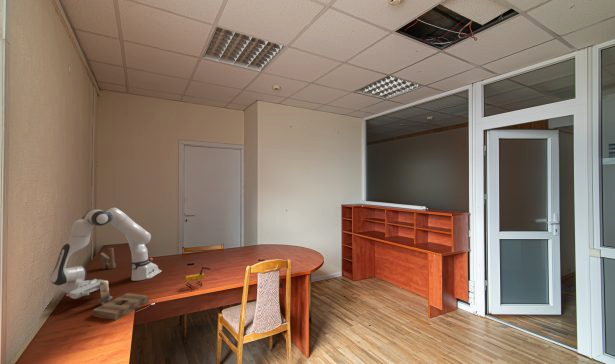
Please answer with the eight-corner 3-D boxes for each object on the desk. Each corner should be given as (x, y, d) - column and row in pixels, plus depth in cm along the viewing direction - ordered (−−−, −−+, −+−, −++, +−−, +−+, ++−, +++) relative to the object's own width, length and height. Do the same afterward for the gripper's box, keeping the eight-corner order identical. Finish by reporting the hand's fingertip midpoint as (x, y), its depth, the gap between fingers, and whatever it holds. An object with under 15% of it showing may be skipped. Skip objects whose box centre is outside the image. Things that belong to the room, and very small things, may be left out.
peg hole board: (127, 298, 184) (127, 293, 184) (148, 301, 179) (148, 295, 179) (93, 316, 164) (92, 309, 163) (115, 320, 158) (115, 313, 158)
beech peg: (107, 300, 183) (105, 279, 182) (115, 301, 181) (113, 280, 180) (95, 306, 176) (93, 283, 175) (104, 307, 174) (102, 285, 173)
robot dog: (211, 285, 201) (210, 267, 200) (184, 289, 195) (183, 271, 194) (211, 282, 206) (210, 264, 205) (185, 286, 200) (184, 268, 199)
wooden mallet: (104, 267, 248) (102, 248, 247) (116, 267, 248) (114, 247, 247) (101, 269, 245) (99, 249, 244) (113, 268, 244) (111, 248, 243)
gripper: (64, 290, 174) (79, 292, 170) (97, 277, 194) (111, 279, 189) (65, 300, 175) (80, 302, 170) (98, 286, 194) (112, 288, 190)
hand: (96, 290), depth 180 cm, fingers open, 8 cm apart
